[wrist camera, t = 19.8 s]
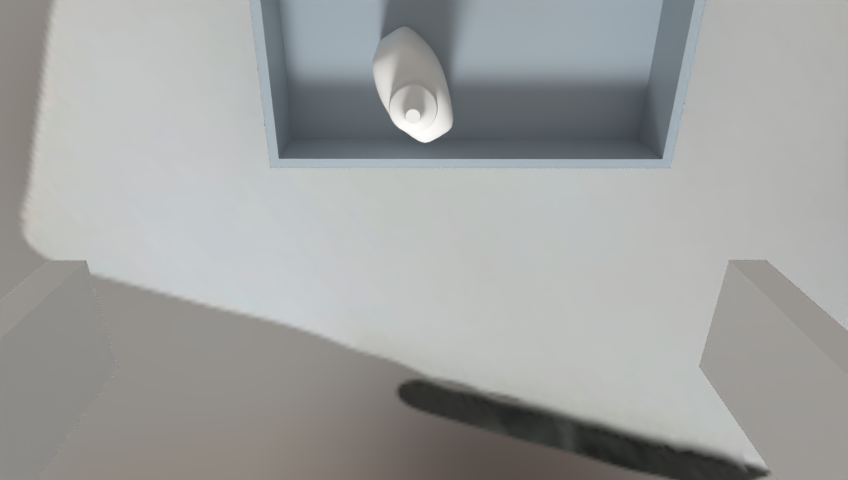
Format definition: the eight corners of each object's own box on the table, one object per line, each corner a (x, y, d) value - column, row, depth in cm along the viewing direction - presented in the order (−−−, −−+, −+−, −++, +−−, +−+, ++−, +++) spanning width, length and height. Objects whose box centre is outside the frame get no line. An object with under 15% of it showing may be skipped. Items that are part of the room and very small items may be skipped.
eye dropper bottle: (383, 113, 38) (370, 175, 28) (378, 26, 36) (360, 55, 25) (448, 111, 38) (460, 171, 27) (446, 23, 36) (459, 52, 25)
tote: (695, -146, 32) (740, -163, 28) (642, 144, 40) (670, 168, 36) (255, -149, 32) (228, -167, 28) (286, 144, 40) (270, 168, 35)
